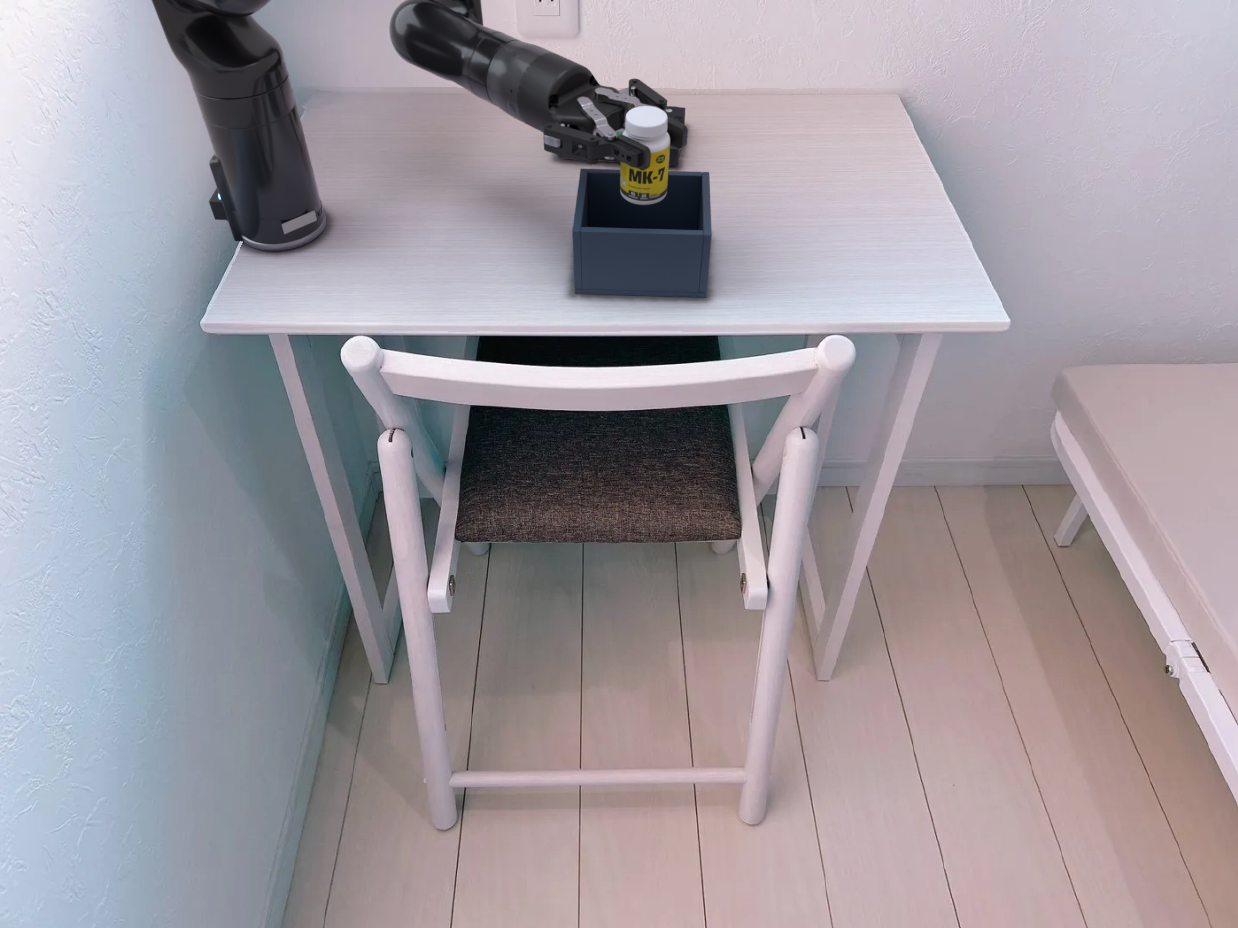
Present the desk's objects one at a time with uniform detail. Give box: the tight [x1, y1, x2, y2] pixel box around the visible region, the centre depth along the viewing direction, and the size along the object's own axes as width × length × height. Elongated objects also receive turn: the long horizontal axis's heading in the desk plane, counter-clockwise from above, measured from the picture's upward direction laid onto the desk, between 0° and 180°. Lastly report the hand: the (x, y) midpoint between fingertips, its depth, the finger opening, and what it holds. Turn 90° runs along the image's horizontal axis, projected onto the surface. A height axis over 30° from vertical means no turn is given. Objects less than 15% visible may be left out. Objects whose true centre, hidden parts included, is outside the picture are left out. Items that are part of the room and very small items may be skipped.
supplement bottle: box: [619, 106, 670, 205], centre depth 96 cm, size 5×5×8 cm
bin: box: [572, 168, 713, 298], centre depth 102 cm, size 14×12×8 cm
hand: (666, 149), depth 93 cm, fingers closed on supplement bottle, 4 cm apart
